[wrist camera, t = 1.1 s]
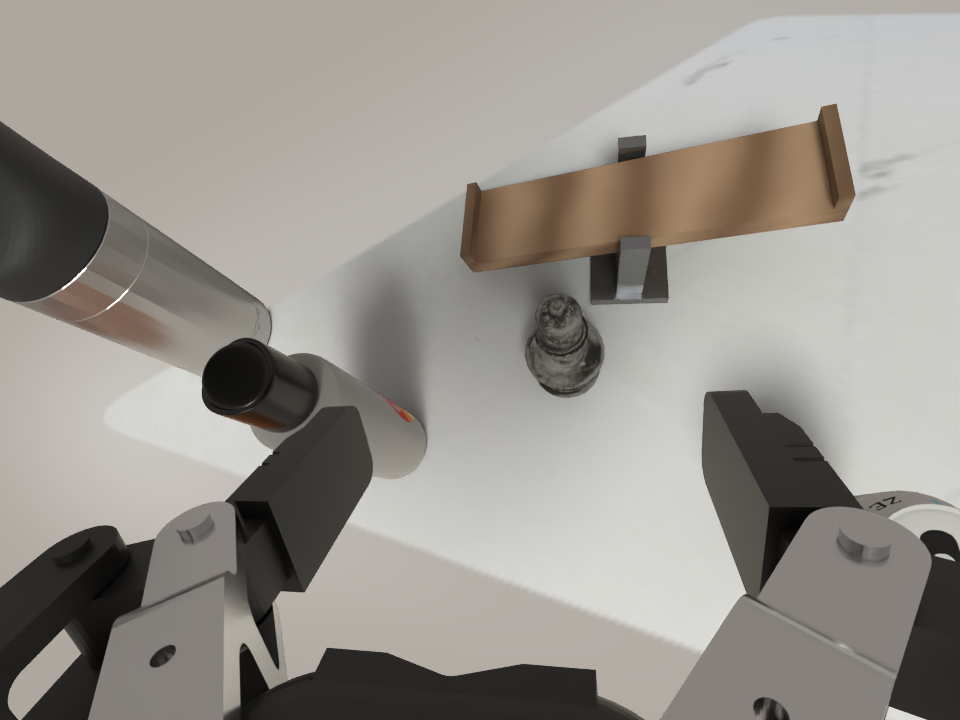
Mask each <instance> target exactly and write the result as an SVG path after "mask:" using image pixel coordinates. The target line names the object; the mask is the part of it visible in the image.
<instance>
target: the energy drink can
mask: <svg viewBox="0 0 960 720" xmlns="http://www.w3.org/2000/svg"><path fill="white" fill-rule="evenodd" d="M854 497H855V498H856V500H857V501H858V502H859V504H860V505H861V506H862V507H863V509H864V510H866V511H870V512H873V513H876V514H879V515H882V516H884V517H887V518H889V519H891V520H893V521H895V522H897V523H899V524H900V525H902V526H904V527H905V528H907V529H908V530H910V531H911V532H912V533H914V534H915V535H916V536H917V537H918V538H919V539H920V540H921V541H922V542H923V543H924V545H925V546H926V547H927V549H928V551H929V553H930V554H932V555H935V556H938V557H941V558H945V559H949V560H953V561H957V562H960V509H958V508H956V507H954V506H953V505H951V504H949V503H947V502H944V501H942V500H940V499H937V498H935V497H933V496H929V495H925V494H921V493H917V492H908V491H890V492H880V493H873V494H866V495H858V496H854Z"/></svg>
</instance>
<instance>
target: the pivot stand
mask: <svg viewBox="0 0 960 720" xmlns="http://www.w3.org/2000/svg"><path fill="white" fill-rule="evenodd" d="M645 152H646V135H643V136H633V137H623V138H618V150H617V163H619V162H624V161H628V160H633V159H638V158H643V157H645ZM668 298H669V297H668V279H667V262H666V246H659V247H652V248H651V237H650V236H639V237H622V238H620V248H619V252H616V253H609V254H602V255H595V256H592V305H595V304H632V303H667V302H668Z"/></svg>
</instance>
